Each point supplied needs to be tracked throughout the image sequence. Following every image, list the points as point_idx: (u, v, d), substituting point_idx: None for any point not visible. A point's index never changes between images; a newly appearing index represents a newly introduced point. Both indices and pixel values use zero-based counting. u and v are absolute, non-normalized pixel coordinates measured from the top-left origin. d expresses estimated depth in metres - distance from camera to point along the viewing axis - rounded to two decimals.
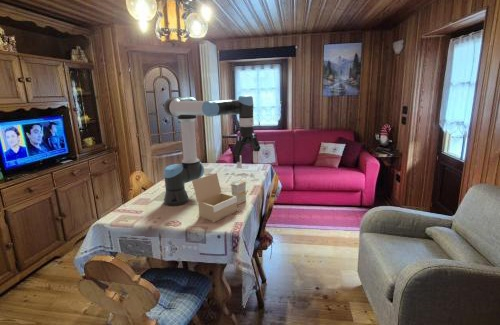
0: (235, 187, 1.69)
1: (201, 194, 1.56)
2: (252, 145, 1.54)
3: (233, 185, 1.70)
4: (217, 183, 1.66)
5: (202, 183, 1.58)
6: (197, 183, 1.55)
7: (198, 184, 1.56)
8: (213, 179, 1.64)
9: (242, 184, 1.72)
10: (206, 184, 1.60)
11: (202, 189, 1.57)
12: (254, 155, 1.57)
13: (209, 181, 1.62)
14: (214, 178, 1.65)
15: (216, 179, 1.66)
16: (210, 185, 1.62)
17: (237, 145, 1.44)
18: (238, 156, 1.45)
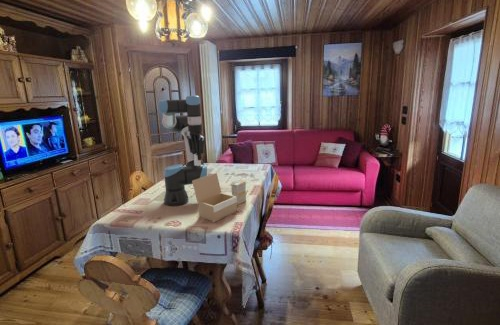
0: (235, 187, 1.69)
1: (201, 194, 1.56)
2: None
3: (233, 185, 1.70)
4: (217, 183, 1.66)
5: (202, 183, 1.58)
6: (197, 183, 1.55)
7: (198, 184, 1.56)
8: (213, 179, 1.64)
9: (242, 184, 1.72)
10: (206, 184, 1.60)
11: (202, 189, 1.57)
12: None
13: (209, 181, 1.62)
14: (214, 178, 1.65)
15: (216, 179, 1.66)
16: (210, 185, 1.62)
17: None
18: None
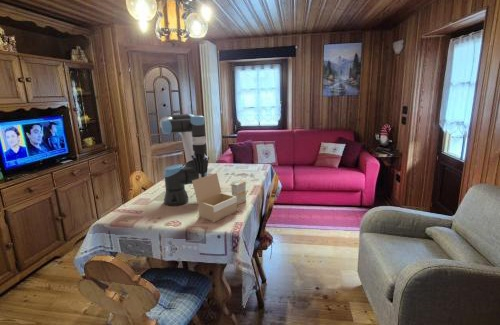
0: (235, 187, 1.69)
1: (201, 194, 1.56)
2: None
3: (233, 185, 1.70)
4: (217, 183, 1.66)
5: (202, 183, 1.58)
6: (197, 183, 1.55)
7: (199, 184, 1.56)
8: (213, 179, 1.64)
9: (242, 184, 1.72)
10: (206, 184, 1.60)
11: (202, 189, 1.57)
12: None
13: (209, 181, 1.62)
14: (214, 178, 1.65)
15: (216, 179, 1.66)
16: (210, 185, 1.62)
17: None
18: (199, 173, 1.62)
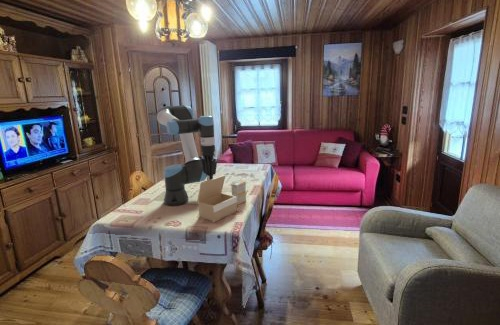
0: (235, 187, 1.69)
1: (203, 195, 1.55)
2: None
3: (233, 185, 1.70)
4: (221, 184, 1.64)
5: (208, 185, 1.55)
6: (204, 185, 1.52)
7: (205, 187, 1.53)
8: (220, 181, 1.61)
9: (242, 184, 1.72)
10: (212, 186, 1.57)
11: (206, 190, 1.55)
12: None
13: (215, 183, 1.59)
14: (221, 180, 1.62)
15: (222, 181, 1.63)
16: (215, 186, 1.60)
17: None
18: (207, 175, 1.57)
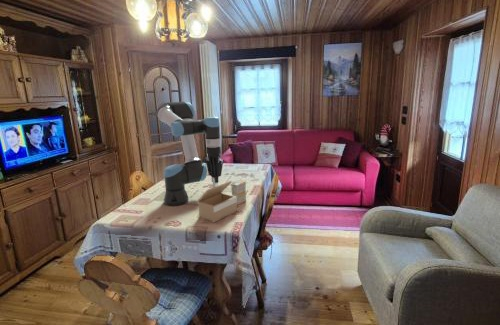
0: (235, 187, 1.69)
1: (205, 197, 1.55)
2: None
3: (233, 185, 1.70)
4: (224, 188, 1.63)
5: (213, 190, 1.53)
6: (209, 191, 1.50)
7: (210, 192, 1.51)
8: (224, 186, 1.59)
9: (242, 184, 1.72)
10: (215, 190, 1.56)
11: (209, 194, 1.54)
12: None
13: (220, 188, 1.57)
14: (226, 185, 1.60)
15: (226, 186, 1.62)
16: (218, 190, 1.59)
17: None
18: (212, 176, 1.55)
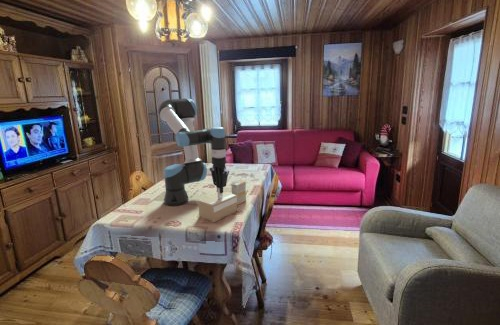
0: (235, 187, 1.69)
1: None
2: None
3: (233, 185, 1.70)
4: None
5: None
6: None
7: None
8: None
9: (242, 184, 1.72)
10: None
11: None
12: None
13: None
14: None
15: None
16: None
17: None
18: None
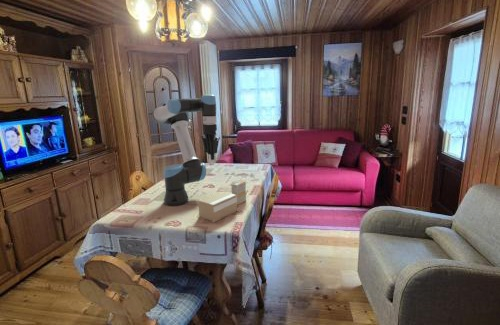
0: (235, 187, 1.69)
1: None
2: None
3: (233, 185, 1.70)
4: None
5: None
6: None
7: None
8: None
9: (242, 184, 1.72)
10: None
11: None
12: None
13: None
14: None
15: None
16: None
17: None
18: None
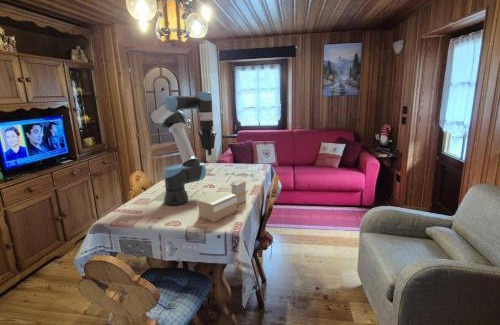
0: (235, 187, 1.69)
1: None
2: None
3: (233, 185, 1.70)
4: None
5: None
6: None
7: None
8: None
9: (242, 184, 1.72)
10: None
11: None
12: None
13: None
14: None
15: None
16: None
17: None
18: None
